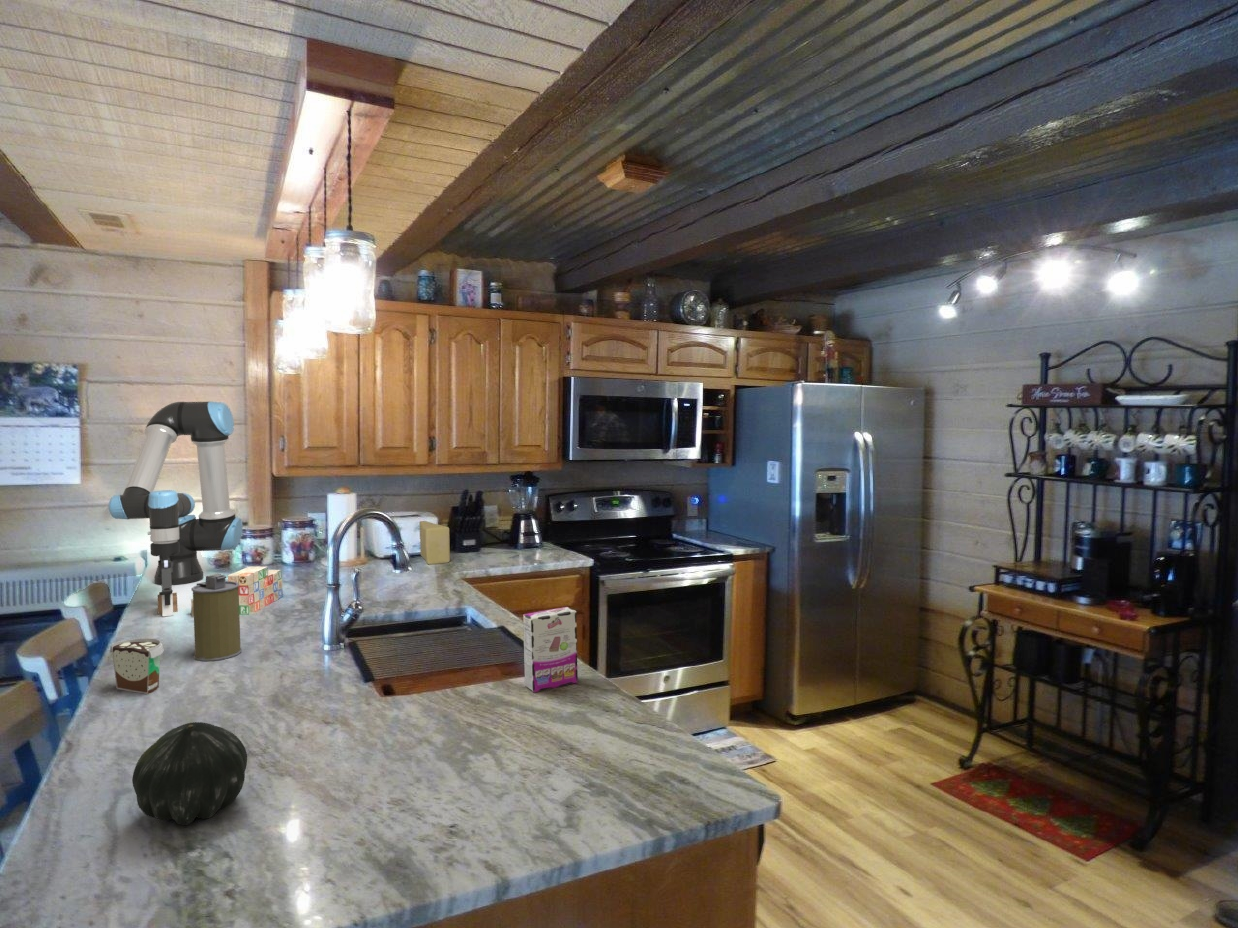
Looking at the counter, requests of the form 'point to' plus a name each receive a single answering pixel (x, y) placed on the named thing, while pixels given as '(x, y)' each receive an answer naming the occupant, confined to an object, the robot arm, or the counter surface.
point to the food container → (137, 664)
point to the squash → (190, 773)
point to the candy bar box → (550, 648)
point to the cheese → (434, 543)
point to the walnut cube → (173, 603)
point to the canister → (216, 619)
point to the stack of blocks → (257, 588)
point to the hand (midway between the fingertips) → (167, 610)
